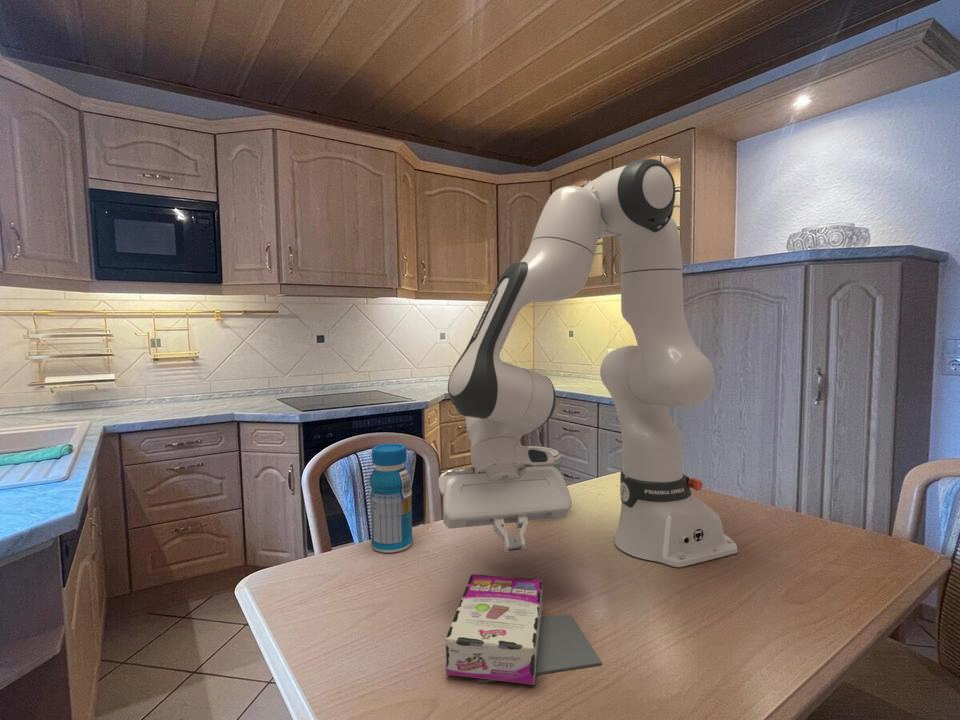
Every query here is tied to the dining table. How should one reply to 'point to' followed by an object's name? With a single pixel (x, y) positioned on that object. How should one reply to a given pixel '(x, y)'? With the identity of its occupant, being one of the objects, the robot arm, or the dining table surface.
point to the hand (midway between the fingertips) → (515, 549)
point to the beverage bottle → (390, 499)
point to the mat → (561, 647)
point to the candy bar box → (496, 630)
